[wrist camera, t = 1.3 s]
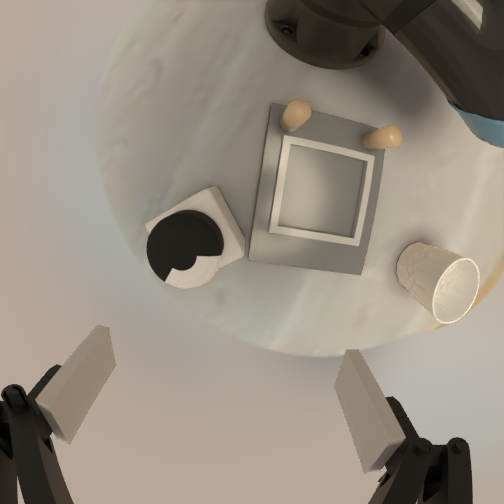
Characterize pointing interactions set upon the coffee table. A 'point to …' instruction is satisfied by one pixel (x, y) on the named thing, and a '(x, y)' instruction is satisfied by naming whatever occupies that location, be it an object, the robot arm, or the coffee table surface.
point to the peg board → (318, 189)
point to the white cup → (439, 280)
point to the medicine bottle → (194, 240)
